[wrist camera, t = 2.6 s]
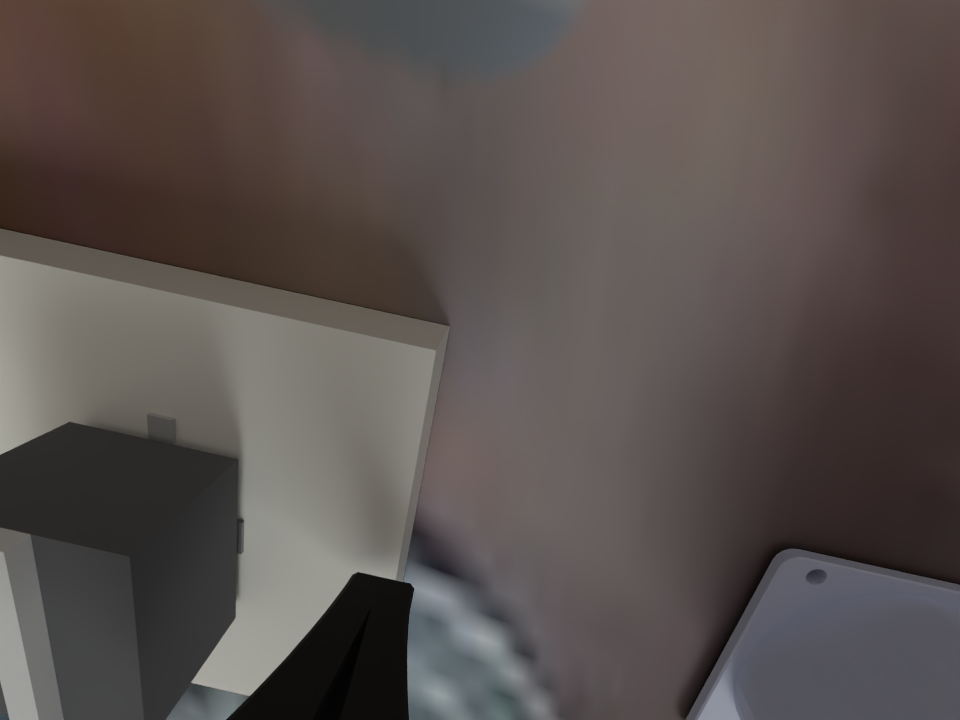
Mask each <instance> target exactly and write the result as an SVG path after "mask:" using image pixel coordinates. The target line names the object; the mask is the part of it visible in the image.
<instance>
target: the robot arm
mask: <svg viewBox="0 0 960 720" xmlns="http://www.w3.org/2000/svg"><path fill="white" fill-rule="evenodd" d="M812 570H814V571H813V572H810V571H812ZM809 572H810V573H809ZM413 593H414V588H413V587H412V585H411V584H410V583H405V582H401V581H396V580H392V579H387V578H383V577H378V576H374V575H369V574H365V573H360V572H357V573H355V574H353V575H352V576H351V578H350V579H349V581H348V582H347V584H346V585H345V586H344V588H343V589H342V591H341V592H340V593H339V595H338V596H337V597H336V599H335V600H334V601H333V603H332V604H331V605H330V606H329V608H328V609H327V610H326V611H325V613H324V614H323V615H322V616H321V618H320V619H319V620H318V621H317V623H316V624H315V625H314V626H313V627H312V629H311V630H310V631H309V632H308V633H307V634H306V635H305V637H304V638H303V639H302V640H301V641H300V642H299V644H298V645H297V646H296V647H295V648H294V649H293V650H292V652H291V653H290V654H289V655H288V656H287V657H286V658H285V660H284V661H283V662H282V663H281V664H280V665H279V666H278V667H277V668H276V669H275V670H274V671H273V672H272V673H271V674H270V676H269V677H268V678H267V679H266V680H265V681H264V682H263V683H262V684H261V685H260V686H259V687H258V688H257V689H256V690H255V691H254V692H253V693H252V694H251V695H250V697H249V698H248V699H247V700H246V701H245V702H244V703H243V704H242V705H241V706H240V707H239V708H238V709H237V710H236V711H235V712H234V713H233V714H232V715H231V716H230V717H229V718H228V719H226V720H409V714H408V690H407V641H408V624H409V614H410V608H411V603H412V598H413ZM686 720H960V585H958V584H954V583H949V582H945V581H940V580H936V579H931V578H927V577H922V576H918V575H913V574H909V573H904V572H900V571H895V570H891V569H886V568H882V567H877V566H873V565H868V564H864V563H859V562H854V561H850V560H845V559H841V558H836V557H832V556H827V555H823V554H818V553H814V552H809V551H805V550H800V549H787V550H783V551H781V552H779V553H778V554H777V555H776V556H775V557H774V558H773V560H772V562H771V563H770V565H769V567H768V569H767V571H766V573H765V574H764V576H763V578H762V580H761V582H760V584H759V585H758V587H757V589H756V591H755V593H754V595H753V596H752V598H751V600H750V602H749V604H748V606H747V608H746V609H745V611H744V613H743V615H742V617H741V619H740V620H739V622H738V624H737V626H736V628H735V630H734V631H733V633H732V635H731V637H730V639H729V641H728V642H727V644H726V646H725V648H724V650H723V652H722V653H721V655H720V657H719V659H718V661H717V663H716V665H715V666H714V668H713V670H712V672H711V674H710V676H709V677H708V679H707V681H706V683H705V685H704V687H703V688H702V690H701V692H700V694H699V696H698V698H697V699H696V701H695V703H694V705H693V707H692V709H691V711H690V712H689V714H688V716H687V718H686Z"/></svg>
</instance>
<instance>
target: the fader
mask: <svg viewBox="0 0 960 720" xmlns="http://www.w3.org/2000/svg"><path fill="white" fill-rule="evenodd" d="M237 512H238V459H235V458H231V457H226V456H222V455H217V454H213V453H208V452H204V451H199V450H195V449H190V448H186V447H181V446H177V445H172V444H168V443H163V442H159V441H154V440H150V439H145V438H141V437H136V436H132V435H127V434H123V433H118V432H114V431H109V430H105V429H100V428H96V427H91V426H87V425H82V424H78V423H73V422H68V423H66V424H64V425H62V426H60V427H57V428H55V429H53V430H51V431H49V432H47V433H45V434H43V435H41V436H39V437H36V438H34V439H32V440H30V441H28V442H26V443H24V444H22V445H20V446H18V447H15V448H13V449H11V450H9V451H7V452H5V453H3V454H1V455H0V714H4V715H8V716H9V719H10V720H166V718H167V717H168V715H169V714H170V712H171V711H172V709H173V708H174V706H175V705H176V704H177V702H178V701H179V699H180V698H181V696H182V695H183V693H184V692H185V691H186V689H187V688H188V686H189V685H190V683H191V682H192V680H193V679H194V677H195V676H196V675H197V673H198V672H199V670H200V669H201V667H202V666H203V664H204V663H205V662H206V660H207V659H208V657H209V656H210V654H211V653H212V651H213V650H214V648H215V647H216V646H217V644H218V643H219V641H220V640H221V638H222V637H223V635H224V634H225V633H226V631H227V630H228V628H229V627H230V625H231V624H232V622H233V621H234V619H235V618H236V569H237Z"/></svg>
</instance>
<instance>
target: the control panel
mask: <svg viewBox="0 0 960 720" xmlns="http://www.w3.org/2000/svg"><path fill="white" fill-rule="evenodd" d="M449 330H450V326H446V325H442V324H437V323H432V322H428V321H423V320H419V319H414V318H409V317H405V316H400V315H396V314H391V313H386V312H382V311H377V310H373V309H368V308H364V307H359V306H354V305H350V304H345V303H341V302H336V301H331V300H327V299H322V298H318V297H313V296H308V295H304V294H299V293H295V292H290V291H285V290H281V289H276V288H272V287H267V286H262V285H258V284H253V283H249V282H244V281H240V280H235V279H230V278H226V277H221V276H217V275H212V274H207V273H203V272H198V271H194V270H189V269H184V268H180V267H175V266H171V265H166V264H161V263H157V262H152V261H148V260H143V259H138V258H134V257H129V256H125V255H120V254H116V253H111V252H106V251H102V250H97V249H93V248H88V247H83V246H79V245H74V244H70V243H65V242H60V241H56V240H51V239H47V238H42V237H37V236H33V235H28V234H24V233H19V232H14V231H10V230H5V229H1V228H0V455H1V454H3V453H5V452H7V451H9V450H11V449H13V448H15V447H18V446H20V445H22V444H24V443H26V442H28V441H30V440H32V439H34V438H36V437H39V436H41V435H43V434H45V433H47V432H49V431H51V430H53V429H55V428H57V427H60V426H62V425H64V424H66V423H68V422H73V423H78V424H82V425H87V426H91V427H96V428H100V429H105V430H109V431H114V432H118V433H123V434H127V435H132V436H136V437H141V438H145V439H150V440H154V441H159V442H163V443H168V444H172V445H177V446H181V447H186V448H190V449H195V450H199V451H204V452H208V453H213V454H217V455H222V456H226V457H231V458H235V459H238V512H237V569H236V618H235V619H234V621H233V622H232V624H231V625H230V627H229V628H228V630H227V631H226V633H225V634H224V635H223V637H222V638H221V640H220V641H219V643H218V644H217V646H216V647H215V648H214V650H213V651H212V653H211V654H210V656H209V657H208V659H207V660H206V662H205V663H204V664H203V666H202V667H201V669H200V670H199V672H198V673H197V675H196V676H195V677H194V679H193V680H192V682H191V683H195V684H199V685H203V686H208V687H212V688H217V689H221V690H225V691H230V692H234V693H239V694H243V695H247V696H250V695H251V694H252V693H253V692H254V691H255V690H256V689H257V688H258V687H259V686H260V685H261V684H262V683H263V682H264V681H265V680H266V679H267V678H268V677H269V676H270V674H271V673H272V672H273V671H274V670H275V669H276V668H277V667H278V666H279V665H280V664H281V663H282V662H283V661H284V660H285V658H286V657H287V656H288V655H289V654H290V653H291V652H292V650H293V649H294V648H295V647H296V646H297V645H298V644H299V642H300V641H301V640H302V639H303V638H304V637H305V635H306V634H307V633H308V632H309V631H310V630H311V629H312V627H313V626H314V625H315V624H316V623H317V621H318V620H319V619H320V618H321V616H322V615H323V614H324V613H325V611H326V610H327V609H328V608H329V606H330V605H331V604H332V603H333V601H334V600H335V599H336V597H337V596H338V595H339V593H340V592H341V591H342V589H343V588H344V586H345V585H346V584H347V582H348V581H349V579H350V578H351V576H352V575H353V574H355V573H357V572H360V573H365V574H369V575H374V576H378V577H383V578H387V579H392V580H396V581H401V582H403V579H404V573H405V568H406V563H407V557H408V552H409V546H410V541H411V536H412V530H413V525H414V519H415V514H416V508H417V503H418V498H419V492H420V487H421V481H422V476H423V471H424V465H425V460H426V454H427V449H428V444H429V438H430V433H431V427H432V422H433V416H434V411H435V406H436V400H437V395H438V389H439V384H440V379H441V373H442V368H443V362H444V357H445V352H446V346H447V341H448V335H449Z"/></svg>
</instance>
